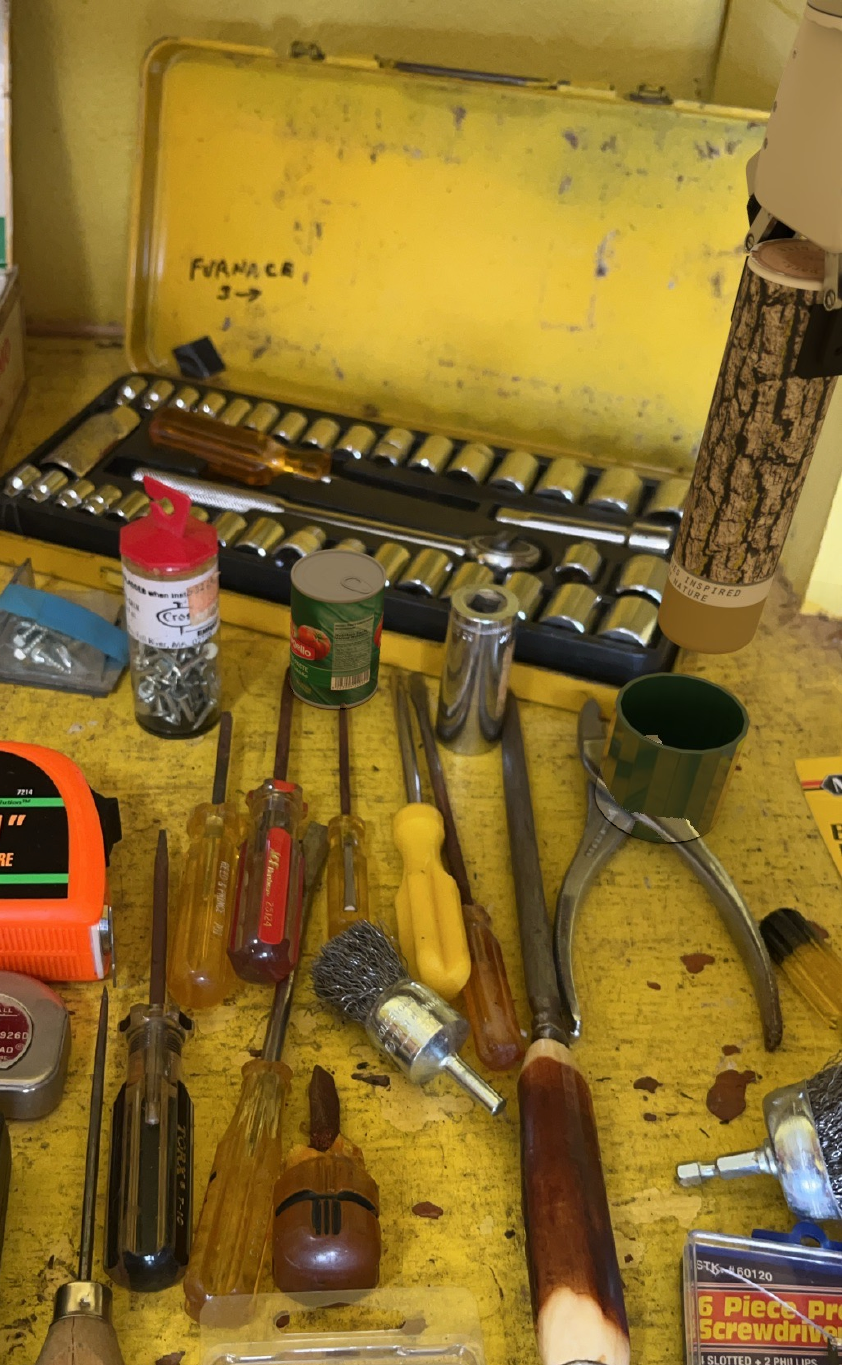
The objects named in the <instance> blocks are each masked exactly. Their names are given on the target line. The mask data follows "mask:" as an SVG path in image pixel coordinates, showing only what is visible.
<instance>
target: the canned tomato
mask: <svg viewBox="0 0 842 1365" xmlns="http://www.w3.org/2000/svg"><path fill="white" fill-rule="evenodd" d="M387 579H388V578H387V571H386V569H385V567H384V566H383V564H382V563H380V561H378V560H377V559H376V558H374V557H372V556H370V555H368V554H366V553H363V552H361V551H356V550H352V549H343V548H331V549H323V550H316V551H313V552H310V553H308V554H305V555H303V556H302V557H300V558H299V559H298V560H296V562H295V563H294V564H293V565H292V567H291V570H290V582H291V584H290V616H289V618H290V619H289V620H290V623H289V624H290V625H289V629H290V630H289V675H290V678H291V681H292V685H293V692H294V693H293V692H292V693H293V695H294V696H295V697H296V698H298V699H299V700H301V701H302V702H303V703H305V704H307V705H309V706H313V707H316V708H320V709H327V710H341V709H340V705H341V703H345V704H346V706H347V708H346V709H350V708H354V707H357V706H360V705H363V704H364V703H366V702H367V701H369V700H370V699H372V697H373V696H374V695H375V694H376V692H377V690H378V688H379V670H380V661H381V659H380V657H381V647H382V638H383V636H382V633H383V622H384V609H385V597H386V582H387Z"/></svg>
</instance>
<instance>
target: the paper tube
mask: <svg viewBox="0 0 842 1365" xmlns="http://www.w3.org/2000/svg"><path fill="white" fill-rule="evenodd" d="M748 256H749V258H748V260H747V263H746V267H745V271H744V275H743V279H742V283H741V287H740V291H739V295H738V299H737V303H736V307H735V311H734V314H733V318H732V322H731V321H730V327H729V331H728V333H727V334H728V335H727V338H726V343H725V346H724V351H723V354H722V359H721V362H720V366H719V371H718V374H717V378H716V381H715V386H714V389H713V394H712V398H711V401H710V406H709V409H708V413H707V416H706V417H707V418H706V421H705V425H704V430H703V433H702V437H701V441H700V445H699V449H698V453H697V457H696V461H695V464H694V468H693V473H692V477H691V480H690V484H689V487H688V491H687V492H688V493H687V496H686V500H685V504H684V508H683V511H682V516H681V520H680V524H679V527H678V532H677V536H676V539H675V543H674V548H673V551H672V555H671V559H670V562H669V566H668V571H667V576H666V580H665V584H664V588H663V592H662V595H661V600H660V604H659V607H658V612H657V623H658V627H659V628H660V631H661V632H662V634H663V635H664V636H665V637H666V638H667V639H668V640H669V641H671V642H672V643H673V644H675V645H677V646H678V647H681V648H682V649H685V650H687V651H691V652H693V653H698V654H702V655H725V654H726V655H727V654H731V653H735V652H738V651H740V650H742V649H744V647H746V646H747V645H749V644H750V643H751V642H752V640H753V639H754V637H755V635H756V633H757V629H758V626H759V623H760V620H761V616H762V615H763V614H762V613H763V611H764V608H765V605H766V602H767V598H768V595H769V593H770V590H771V587H772V584H773V582H774V578H775V575H776V571H777V569H778V566H779V561H780V559H781V556H782V553H783V550H784V546H785V543H786V540H787V538H788V535H789V534H788V533H789V531H790V529H791V526H792V522H793V519H794V516H795V513H796V510H797V506H798V504H799V500H800V497H801V495H802V491H803V488H804V485H805V481H806V479H807V476H808V473H809V469H810V466H811V463H812V461H813V457H814V454H815V451H816V447H817V445H818V442H819V438H820V435H821V433H822V429H823V426H824V423H825V421H826V417H827V414H828V410H829V408H830V404H831V402H832V398H833V395H834V392H835V389H836V386H837V382H838V379H839V376H831V377H821V378H811V379H800V378H799V377H798V376H796V375H795V373H794V369H795V365H796V362H797V358H798V355H799V351H800V348H801V345H802V341H803V338H804V334H805V331H806V328H807V324H808V321H809V318H810V314H811V311H812V309H813V305H814V304H823V289H824V263H825V250H824V249H822V248H820V247H819V246H817V245H815V244H814V243H812V242H811V241H809V240H808V239H806V238H799V239H798V238H786V239H774V240H768V241H764V242H761V243H759V244H757V245H755V246H754V247H752V249H751V250H750V254H749V255H748Z"/></svg>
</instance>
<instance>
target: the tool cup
mask: <svg viewBox="0 0 842 1365" xmlns="http://www.w3.org/2000/svg"><path fill="white" fill-rule="evenodd" d="M750 724H751V720H750V717H749V713H748V710H747V708H746V707H745V705H744V704H743V703H742V702H741V701H740V699H739V698H738V697H737V696H736V695H735V694H733V693H732V692H731V691H729V690H728V689H726V688H725V687H723V686H722V685H720V684H718V683H716V682H713V681H710V680H708V679H706V678H704V677H699V676H696V675H691V674H687V673H681V672H680V673H679V672H655V673H649V674H644V675H641V676H638V677H636V678H634V679H631V680H629V681H628V682H626V684H625V685H624V686H622V687H621V689H619V691H618V693H617V696H616V699H615V701H614V704H613V709H612V713H611V718H610V722H609V725H608V729H607V733H606V734H607V735H606V739H605V742H604V746H603V749H602V750H603V751H602V753H601V754H602V755H601V759H600V763H601V767H602V776H603V780H604V783H605V785H606V787H607V789H608V790H609V792H610V794H611V795H612V797H613V796H614V799H615V801H616V803H618V805H620V806H621V809H622V807H623V809H624V810H625V809H626V810H627V811H628V810H629V811H628V812H629V813H630V814H631V813H634V812H638V813H639V814H640V813H641V814H644V813H645V814H650V815H653V816H657V817H666V818H670V817H673V818H678V819H679V818H681V819H682V818H684V819H685V820H686V819H687V820H689V821H690V825H691V826H693V827H694V829H695V830H696V831H697V832H698V833H699V835H700V836H701V837H703V836H705V835H706V834H707V833H709V832H710V831H711V830H712V829H713V828H714V827H715V825H716V824H717V822H718V819H719V817H720V815H721V813H722V812H721V811H722V810H723V809H722V808H723V806H724V803H725V800H726V798H727V794H728V791H729V788H730V785H731V782H732V780H733V777H734V774H735V771H736V768H737V765H738V762H739V759H740V756H741V753H742V750H743V747H744V744H745V742H746V739H747V736H748V732H749V727H750ZM646 735H658V738H659V739H660V740H661V741H662V744H663V745H662V744H660V743H657V742H655V741H653V740H651V739H649V738H647V737H644V736H646ZM630 836H632V837H634V838H638V839H640V840H642V841H643V840H644V841H647V842H653V843H658V844H668V843H667V841H665V840H664V839H662V837H661V836H660V835H658V833H657V832H656V831H654V830H653V829H652V828H649V827H648V826H644V825H643V824H642V823H640V822H639V821H635V824H634V826H633V829H632V831H631V835H630Z"/></svg>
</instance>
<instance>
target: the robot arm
mask: <svg viewBox="0 0 842 1365" xmlns="http://www.w3.org/2000/svg"><path fill="white" fill-rule="evenodd" d="M803 10H804V11H803V16H802V19H801V22H800V24H799V27H798V29H797V31H796V35H795V37H794V40H793V43H792V45H791V48H790V51H789V54H788V57H787V60H786V63H785V64H784V65H785V66H784V68H783V72H782V75H781V78H780V81H779V84H778V88H777V91H776V95H775V96H774V101H773V104H772V107H771V110H770V114H769V118H768V121H767V124H766V128H765V132H764V136H763V140H762V144H761V147H760V149H759V150H758V151H757V152H755V153H754V154H753V155H752V156H751V157H750V158H749V159H748V160H747V162H746V165H745V178H746V186H747V196H748V200H747V204H746V214H747V219H748V225H749V226H748V227H749V229H748V230H747V232H746V234H745V236H744V240H743V246H744V251H745V253H746V254H749V255H746V256H745V259H744V264H743V267H742V270H741V275H740V279H739V285H738V288H737V291H736V296H735V299H734V303H733V307H732V311H731V314H730V323H731V322H732V318H733V314H734V311H735V307H736V303H737V299H738V295H739V291H740V287H741V283H742V279H743V275H744V271H745V267H746V263H747V260H748V258H749V256H750V250H751V249H752V247H754V246H755V245H757V244H759V243H761V242H764V241H768V240H774V239H786V238H798V239H801V237H804V239H808V240H809V241H811V242H812V243H814V244H815V245H817V246H819V247H820V248H822V249H824V250H825V263H824V289H823V304H814V305H813V309H812V311H811V314H810V318H809V321H808V324H807V328H806V331H805V334H804V338H803V341H802V345H801V348H800V351H799V355H798V358H797V362H796V365H795V369H794V373H795V375H796V376H798V377H799V378H800V379H811V378H821V377H831V376H840V377H841V376H842V0H806V2H805V6H804V9H803Z"/></svg>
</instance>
